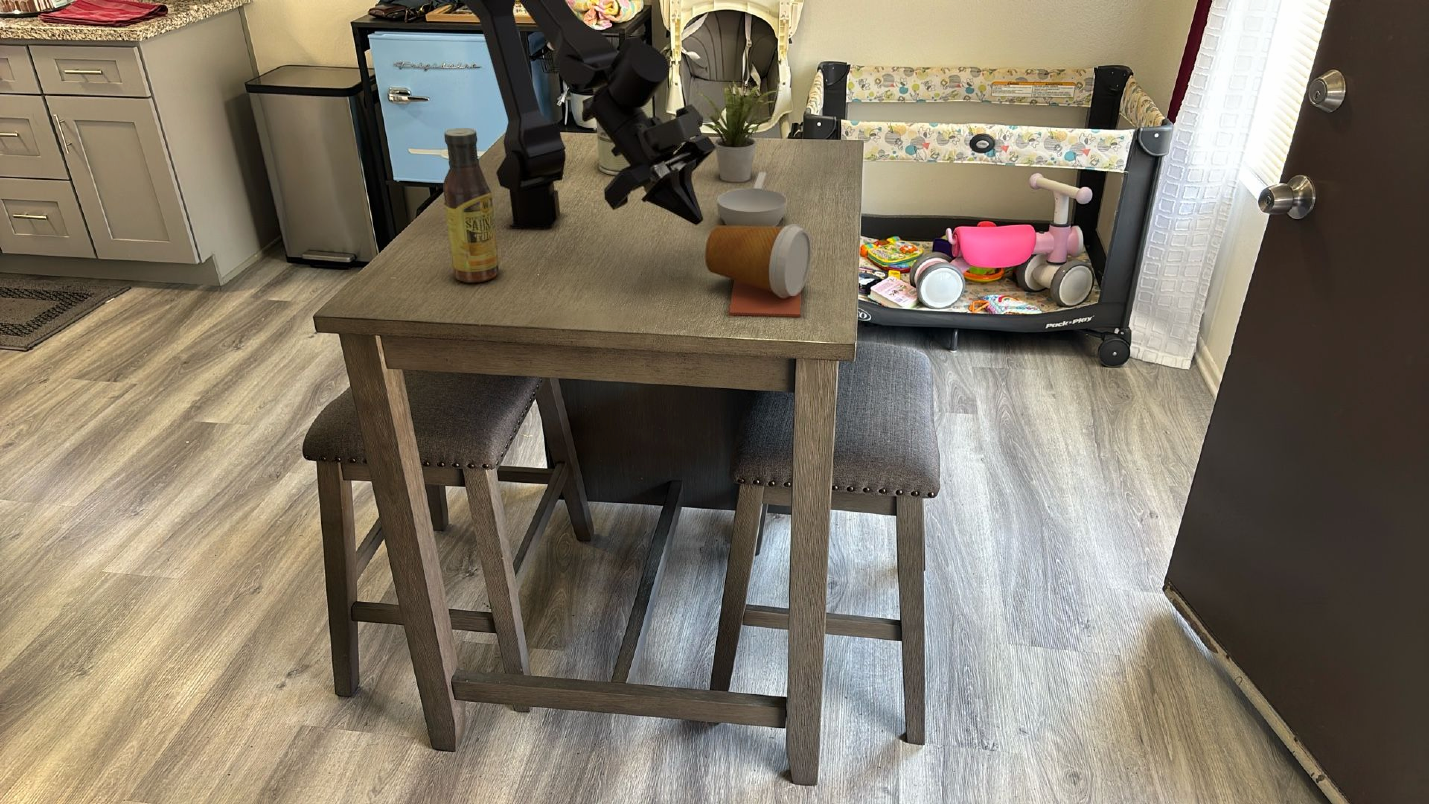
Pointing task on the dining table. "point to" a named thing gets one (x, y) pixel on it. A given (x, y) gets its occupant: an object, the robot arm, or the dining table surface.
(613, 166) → the coffee can
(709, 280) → the dining table surface
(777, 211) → the saucepan
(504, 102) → the robot arm
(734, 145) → the house plant
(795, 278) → the disposable coffee cup
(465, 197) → the sauce bottle
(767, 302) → the mat
